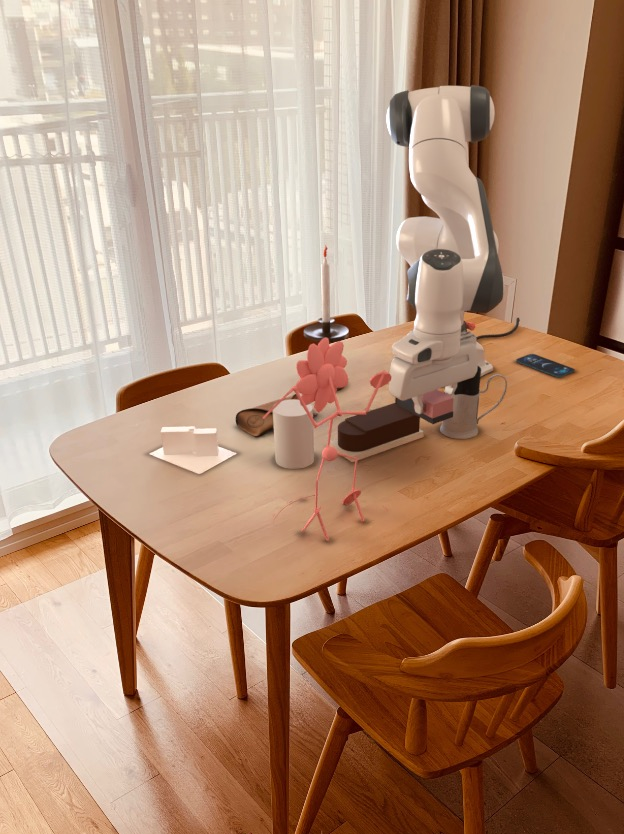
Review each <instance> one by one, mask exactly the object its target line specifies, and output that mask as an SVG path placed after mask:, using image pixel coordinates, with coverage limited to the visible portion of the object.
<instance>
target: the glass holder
mask: <svg viewBox="0 0 624 834" xmlns="http://www.w3.org/2000/svg"><path fill="white" fill-rule="evenodd" d="M481 377H482V376H481V368H480V367H479V366H478V367H477V373H476V374H475V376H474V377H473V378H470V379H467V380H464V381H461V382H458V383H457V388H456V390H455V392H454V394H453V396H452V397H453V398H454V400H453V417H452V418H449V419H446V420H444V421H441V424H440V427H439V431H440V433H441V434H442V435H443V436H445V437H448V438H451V439H456V440H457V439H458V440H466V439H471V438H474V437H476V436H477V435H478V433H479V429H478V424H479V421H480V420H481V419H482V418H484V417H485V416H486V415H488V414H490V413H491V412H492V411H494V410H495V409H497V407H499V405H500V404H501V403H502V402H503V399H504V398H505V395H506V393H507V388H508V380H507V378H506V377H505V376H504V375H503V374H500V373H496V374H495V373H494V374H493V375H491V376H490V377H489V378H488V380H487V382H486V388H485V389H484V390H481V389H480V388H481ZM495 377H500V378H502V379H504V382H505V383H504V384H505V385H504V390H503V392H502V395H501V396H500V398H499V400H498V401H497V402H496V404H494V406H492V407H491V408H490V409H488V410H486V411H485V412H484V413H483V414H481V415H480V416H479V405H480V396H481V395H480V394H485V393H487V391H488V390H489V386H490V382H491V381H492V379H494V378H495ZM445 389H446V387H444V390H445Z"/></svg>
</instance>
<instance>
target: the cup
mask: <svg viewBox="0 0 624 834" xmlns="http://www.w3.org/2000/svg"><path fill="white" fill-rule="evenodd" d="M306 406H307V408H308V410H309V412H310V414H311V415H312V417H313V412H314V406H313V404H312V403H310V404H308V405H306ZM313 418H314V417H313ZM273 424H274V430H273V440H274V456H275V463H276V464H277V465H278V466H279V467H281V468H284V469H289V470H299V469H304V468H307V467H309V466H311V465H313V463H314V461H315V443H314V442H315V441H314V440H315V437H314V426H313V424H312V422H311V420H310V419H309V417H308V415H307V413H306V411H305V410H304V408H303V406H301V404H300V401H299V400H295V399H292V400H284V401H282V402H281V403H280V404H278V405H277V406H276V407H275V408H274V409H273Z"/></svg>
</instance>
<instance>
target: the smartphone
mask: <svg viewBox="0 0 624 834" xmlns="http://www.w3.org/2000/svg"><path fill="white" fill-rule="evenodd" d="M515 362H516V363H518V364H521V365H523V366H526V367H529V368H531V369H534V370H536V371H540V372H542V373H545V374H547V375H550V376H553V377H555V378H563V377H565V376H568V375H570V374H573V373H574V372H575V371H576V370H575V368H573V367H570V366H568V365H566V364H563V363H559V362H557V361H555V360H552V359H549V358H546V357H543V356H541V355H538V354H536V353H529V354H526V355H523V356H521V357H519V358H516V359H515Z"/></svg>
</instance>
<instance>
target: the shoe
mask: <svg viewBox="0 0 624 834" xmlns="http://www.w3.org/2000/svg"><path fill="white" fill-rule="evenodd" d="M394 400H395V401H394V402H392V403H389V404H387V405H384V406H380V407H377V408H375V409H371V410H368V412H366V415H352V416H349V417H346V418H345V419H344V420H343V421H340V423H339V424H338V425H337V438H336V439H332V440H330V445H329V446H332V447H334V448H335V449H336V450H337V453H341V454H344V455H348V456H352V457H356V458H357V459H358V461H360V460H363V459H366V458H369V457H372V456H374V455H377V454H380V453H383V452H386V451H388V450H391V449H393V448H397V447H399V446H403V445H405V444H408V443H411V442H414V441H416V440H419V439H422V438H424V434H425V431H424V430H423V429H421V428H420V427H421V426H420V425H421V423H420V422H421V418H420V417H418V416H416V415H415V414H413V413H411V412H409V411H407V410H406V409H404V408H402V407H400V406H398V405H397V400H398V398H396V397H394ZM342 457H343V458H344V459H346V460H348V462H350V463H355V460H356V459H352V458H348V457H344V456H342Z"/></svg>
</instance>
